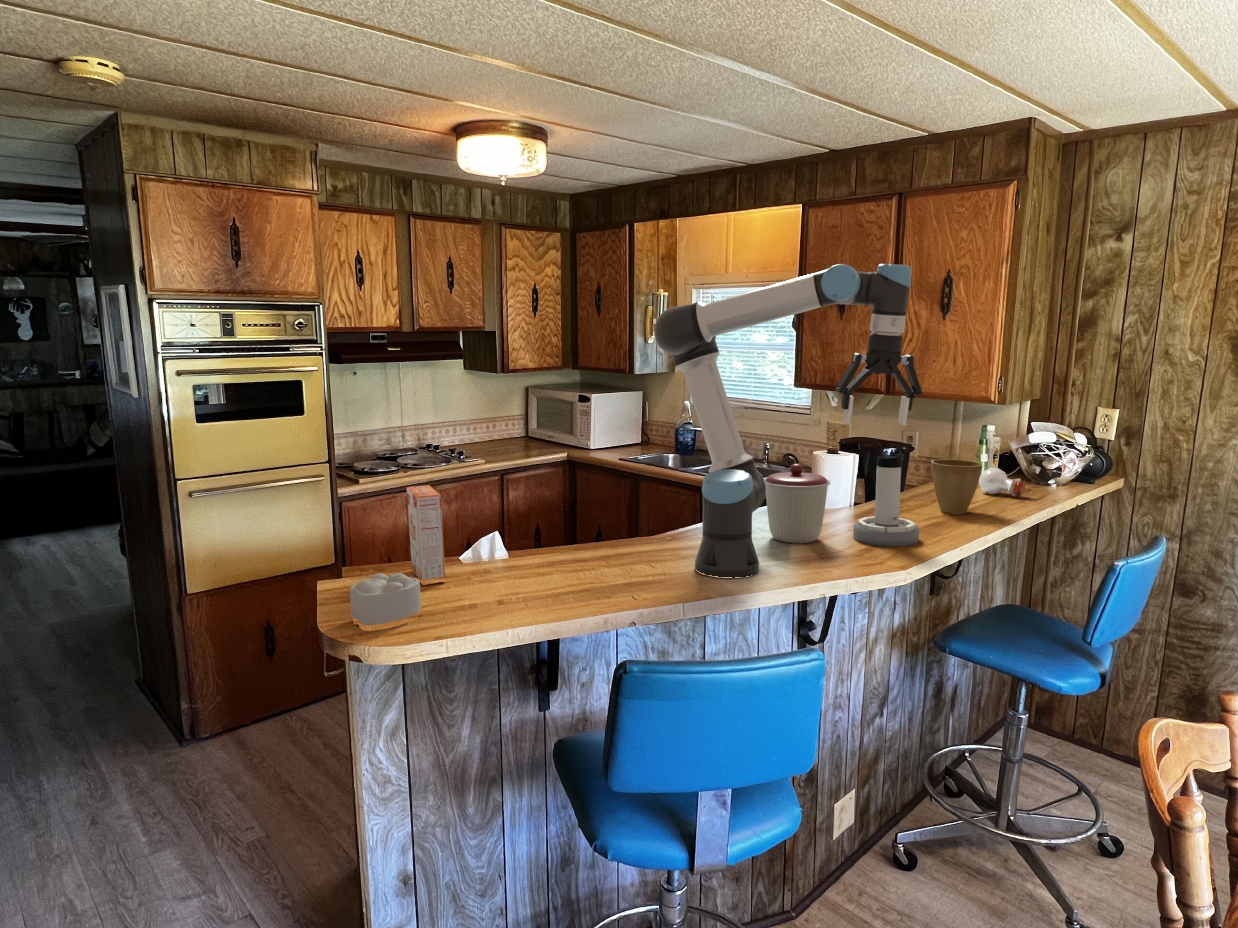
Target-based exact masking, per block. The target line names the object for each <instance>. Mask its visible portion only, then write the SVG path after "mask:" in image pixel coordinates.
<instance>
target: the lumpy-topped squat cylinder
mask: <svg viewBox="0 0 1238 928" xmlns="http://www.w3.org/2000/svg"><path fill="white" fill-rule="evenodd" d="M349 595H350V600H349V601H350V613H351V618H352V617H353V618H355V619H357V620H358V621H359V622H360V623H361V624H363V625H377V624H383V623H388V622H392V621H396V620H400V619H404V618H407V617H410V616H412V615H414V614H415V613H417V612H419V611H420V609H421V610H422V602H421V601H422V600H421V599H422V596H421V584H420V582H419V579H417V577H413V576H411V575H410V576H407V575H405V574H403V573H401V572H400V573H399V572H398V573H397V572H396V573H392V574H391V575H389V576H388V575H386V574H384V573H381V572H380V573H375V574H373V575H372V576H371V577H370V578H367V579H363V580H362V579H361V580H360V581H359V582H358V583H354V584H353V585H351V586H350V587H349Z"/></svg>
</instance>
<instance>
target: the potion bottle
mask: <svg viewBox="0 0 1238 928" xmlns="http://www.w3.org/2000/svg"><path fill="white" fill-rule="evenodd" d="M978 486H979V487H980V489H981V490H982V491H983V492H984V493H986V492H987V493H986V494H988V493H994V494H993V495H995V494H997V493H999V494H1000V493H1003V492H1008V493H1010V495H1011V496H1012V497H1013V496H1014V497H1015V496H1017V497H1018V498H1019V497H1020V498H1021V497H1022V495H1023V494H1024V493H1025V492H1026V480H1023V481H1021V478H1014V479H1011V478H1008V476H1007V474H1006V472H1005V471H1003V470H1002V469H1001V468H999V467H988V468H987V469H985V470H984V471H983V472H981V474H980V478H979V482H978ZM997 495H998V494H997Z"/></svg>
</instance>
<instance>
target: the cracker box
mask: <svg viewBox="0 0 1238 928" xmlns="http://www.w3.org/2000/svg"><path fill="white" fill-rule="evenodd" d="M441 496H442V495H440V494H439V492H437V490H435V489H434V488H433V487H432V486H431V485H430V484H429V485H427V484H426V485H414V486H408V487H406V498H407V500H406V501H407V512H408V514H407V515H408V528H409V529H408V530H409V541H410V542H409V543H410V560H411V571H414V572H415V574H416V575H417V576H418V577H419V579H420V580H426V579H433V578H438V577H445V578H446V571H445V567H446V566H445V554H444V553H445V551H444V536H443V519H442V518H443V516H442V498H441ZM414 572H413V573H414ZM415 574H414V575H415Z"/></svg>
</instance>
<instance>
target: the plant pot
mask: <svg viewBox="0 0 1238 928" xmlns="http://www.w3.org/2000/svg"><path fill="white" fill-rule="evenodd" d="M930 463H931V474H932V480H933V486H934V492H935V496H936V500H937V503H938V506H939V509H940V512H942V511H943V512H942V513H945V512H946V513H945V514H950V513H953V514H952V515H964V514H966V513H967V511H968V510H969V507H970V506H971V503H972V501H973V498H974V496H975V493H976V491H977V488H978V486H979V478H980V475H981V474H982V469H983V466H984V465H983V463H982V462H979V461H973V460H966V459H965V460H964V459H933V460H931V462H930Z"/></svg>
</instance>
